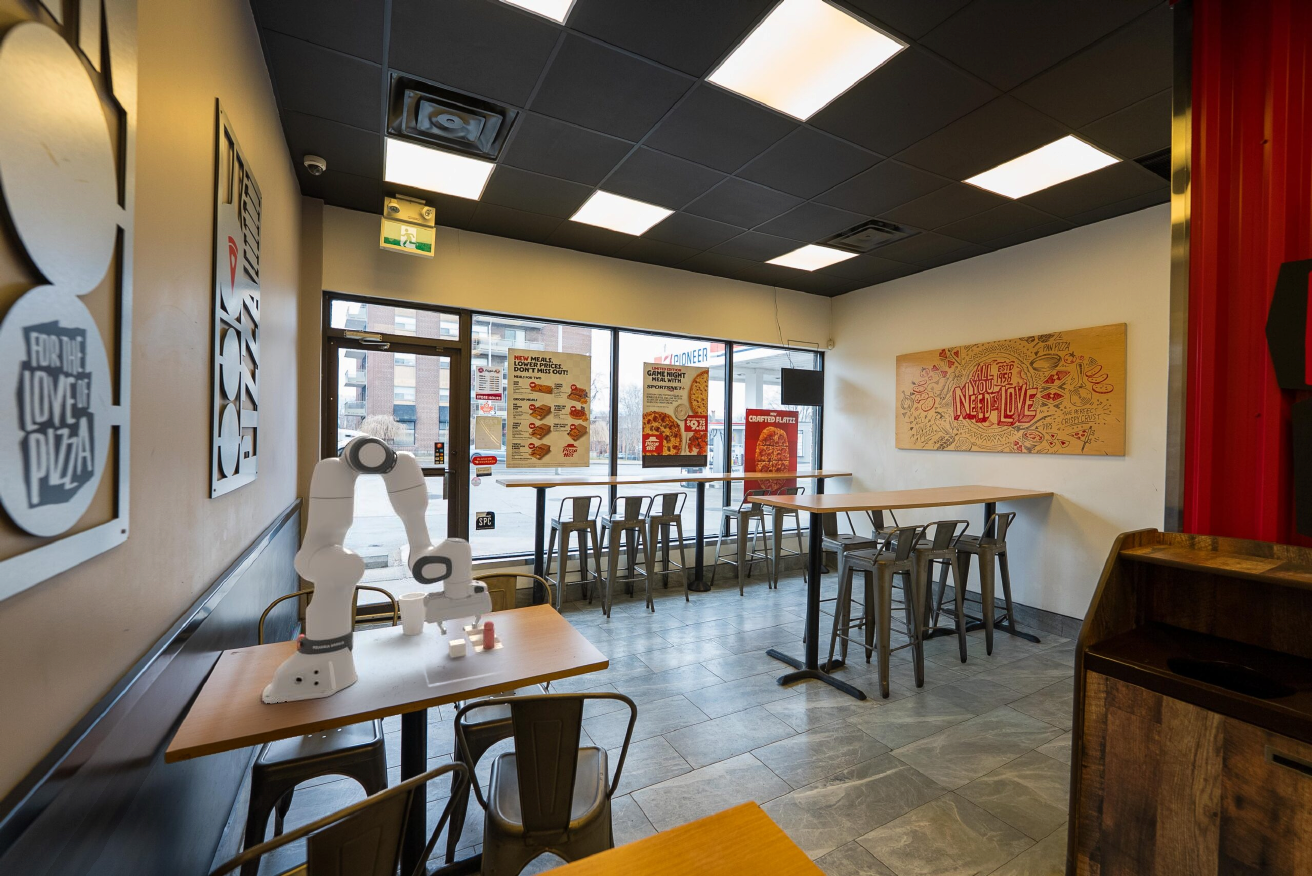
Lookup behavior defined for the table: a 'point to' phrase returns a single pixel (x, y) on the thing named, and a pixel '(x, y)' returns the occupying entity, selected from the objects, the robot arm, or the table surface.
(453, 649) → the white cube
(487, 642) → the red bottle
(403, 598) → the foam cup
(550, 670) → the table surface
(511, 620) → the table surface
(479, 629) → the board
